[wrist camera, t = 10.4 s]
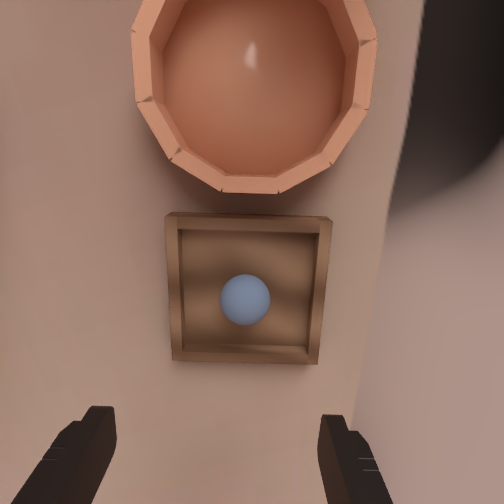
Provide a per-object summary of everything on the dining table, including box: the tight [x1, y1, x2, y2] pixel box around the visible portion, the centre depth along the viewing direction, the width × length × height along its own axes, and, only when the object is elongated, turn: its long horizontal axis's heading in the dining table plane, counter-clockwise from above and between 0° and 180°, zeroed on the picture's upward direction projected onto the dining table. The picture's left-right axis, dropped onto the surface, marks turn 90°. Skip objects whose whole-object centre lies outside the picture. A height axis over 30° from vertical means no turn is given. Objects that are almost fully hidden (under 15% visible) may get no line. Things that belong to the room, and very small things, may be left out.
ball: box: [220, 274, 270, 325], centre depth 27 cm, size 4×4×4 cm
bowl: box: [131, 0, 378, 194], centre depth 23 cm, size 16×16×4 cm
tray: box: [165, 212, 333, 365], centre depth 29 cm, size 14×14×2 cm
